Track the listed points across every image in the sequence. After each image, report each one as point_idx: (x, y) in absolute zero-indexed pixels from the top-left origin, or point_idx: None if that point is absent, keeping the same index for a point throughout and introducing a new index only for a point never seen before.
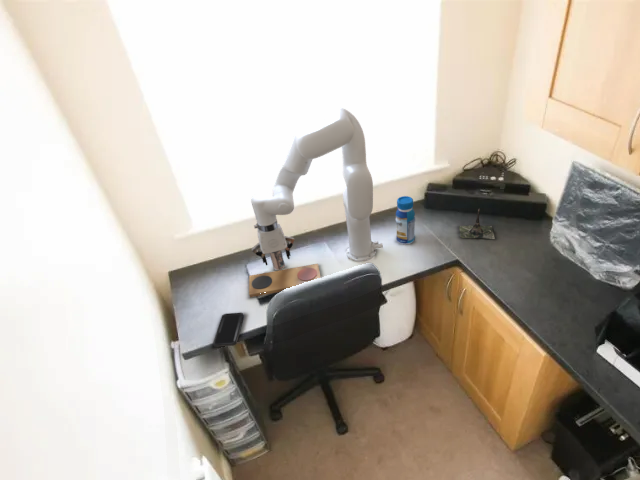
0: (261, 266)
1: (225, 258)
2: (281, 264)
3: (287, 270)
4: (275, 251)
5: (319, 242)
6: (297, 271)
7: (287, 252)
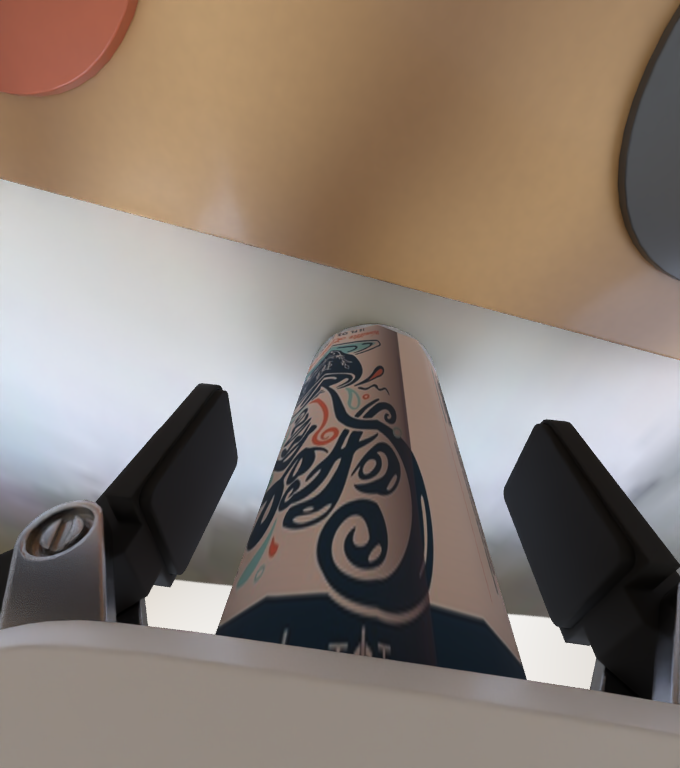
0: (511, 467)
1: None
2: (345, 359)
3: (303, 215)
4: (394, 681)
5: (7, 484)
6: (149, 81)
7: (135, 478)
